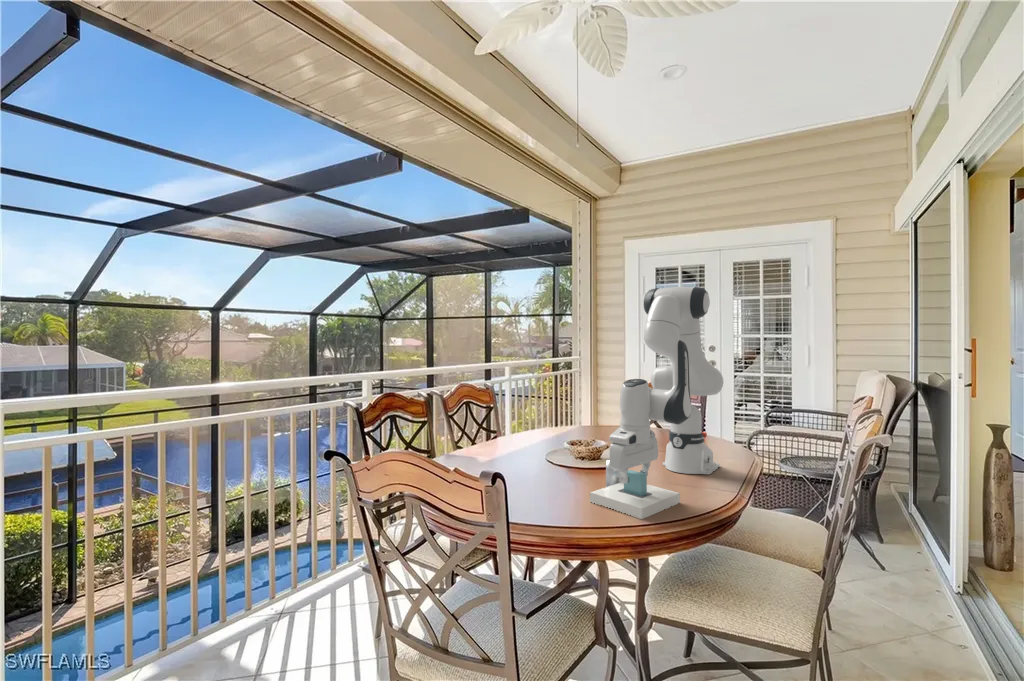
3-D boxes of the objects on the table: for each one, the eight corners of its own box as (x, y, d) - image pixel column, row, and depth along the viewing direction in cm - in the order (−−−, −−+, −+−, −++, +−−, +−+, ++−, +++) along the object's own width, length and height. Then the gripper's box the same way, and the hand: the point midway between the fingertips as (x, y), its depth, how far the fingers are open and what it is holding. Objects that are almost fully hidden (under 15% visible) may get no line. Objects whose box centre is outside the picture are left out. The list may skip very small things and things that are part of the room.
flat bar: (629, 499, 147) (629, 469, 147) (646, 504, 143) (646, 473, 143) (623, 501, 145) (623, 471, 145) (640, 506, 141) (641, 475, 141)
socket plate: (629, 488, 157) (629, 479, 157) (679, 502, 144) (679, 492, 144) (589, 502, 144) (590, 491, 144) (641, 519, 130) (641, 507, 130)
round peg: (612, 484, 162) (612, 457, 162) (624, 488, 158) (624, 460, 158) (602, 487, 158) (602, 460, 158) (615, 491, 155) (615, 463, 155)
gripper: (645, 427, 153) (645, 470, 153) (605, 436, 140) (605, 484, 140) (663, 430, 148) (663, 475, 149) (623, 440, 135) (623, 489, 135)
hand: (635, 479), depth 144 cm, fingers open, 8 cm apart
